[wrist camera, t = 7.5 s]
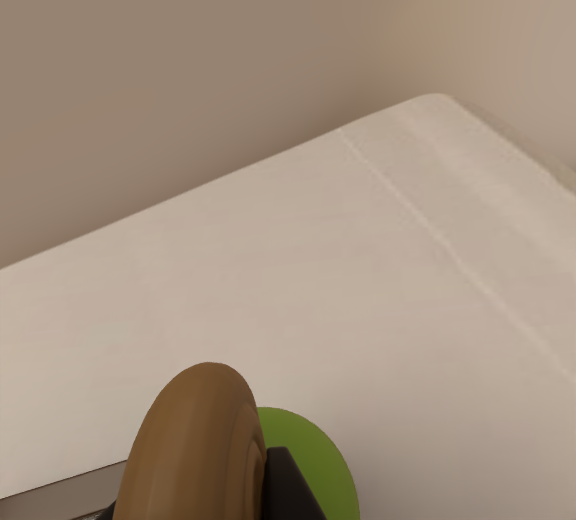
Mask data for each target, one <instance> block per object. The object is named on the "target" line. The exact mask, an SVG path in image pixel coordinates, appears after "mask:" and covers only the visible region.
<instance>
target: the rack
mask: <svg viewBox="0 0 576 520" xmlns="http://www.w3.org/2000/svg"><path fill="white" fill-rule="evenodd" d="M126 463H127V460H124V461H121V462H118V463H115V464H112V465H108V466H105V467H102V468H99V469H95V470H92V471H89V472H86V473H83V474H79V475H76V476H73V477H70V478H67V479H63V480H60V481H57V482H54V483H51V484H47V485H44V486H41V487H38V488H35V489H31V490H28V491H25V492H22V493H19V494H15V495H12V496H9V497H6V498H2V499H0V520H82V519H85V518H88V517H91V516H94V515H97V514H100V513H102V512H103V511H104V510H106V509H107V508H108V507H109V506H110V505H111V504H112V503H113V502H114V501H115V500H116V499H117V496H118V492H119V488H120V484H121V480H122V476H123V473H124V470H125V466H126Z"/></svg>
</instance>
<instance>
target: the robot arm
mask: <svg viewBox="0 0 576 520" xmlns="http://www.w3.org/2000/svg"><path fill="white" fill-rule="evenodd" d="M266 455H267V460H266V463H265V471H264V482H263V496H262V499H263V513H264V520H328V519H327V518H326V516H325V514H324V512H323V510H322V509H321V507H320V505H319V503H318V501H317V500H316V498H315V496H314V494H313V492H312V491H311V489H310V487H309V485H308V483H307V482H306V480H305V478H304V476H303V474H302V473H301V471H300V469H299V467H298V466H297V464H296V462H295V460H294V458H293V457H292V455H291V453H290V451H289V449H288V448H287V447H286V446H276V447H269V448H267V450H266ZM116 500H117V499H116ZM116 500H115V501H114V502H113V503H112V504H111V505H110V506H109V507H108V508H107V509H106V510H104V511H103V512H102V513H101V514H100V515H99V516H98V517H97V518H96V519H95V520H112V519H113V513H114V509H115V504H116Z"/></svg>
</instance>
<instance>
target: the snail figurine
mask: <svg viewBox="0 0 576 520" xmlns="http://www.w3.org/2000/svg"><path fill="white" fill-rule="evenodd" d="M276 446H286V447H287V448H288V449H289V451H290V453H291V455H292V457H293V458H294V460H295V462H296V464H297V466H298V467H299V469H300V471H301V473H302V474H303V476H304V478H305V480H306V482H307V483H308V485H309V487H310V489H311V491H312V492H313V494H314V496H315V498H316V500H317V501H318V503H319V505H320V507H321V509H322V510H323V512H324V514H325V516H326V518H327V519H328V520H360V509H359V502H358V496H357V492H356V488H355V484H354V481H353V478H352V475H351V473H350V470H349V468H348V466H347V464H346V462H345V460H344V458H343V456H342V455H341V453H340V451H339V450H338V448H337V447H336V446H335V444H334V443H333V442H332V441H331V439H330V438H329V437H328V436H327V435H326V434H325V433H324V432H323V431H322V430H321V429H320V428H318V427H317V426H316V425H315V424H313V423H312V422H310V421H309V420H307V419H305V418H304V417H302V416H300V415H298V414H295V413H293V412H290V411H287V410H283V409H278V408H271V407H256V403H255V400H254V397H253V394H252V391H251V389H250V388H249V386H248V384H247V382H246V381H245V379H244V378H243V377H242V376H241V375H240V374H239V373H238V372H237V371H236V370H234V369H233V368H231V367H230V366H228V365H226V364H222V363H213V362H204V363H200V364H197V365H194V366H192V367H189V368H188V369H186V370H184V371H182V372H181V373H179V374H178V375H177V376H176V377H174V378H173V379H172V380H171V381H170V382H169V383H168V384H167V385H166V386H165V387H164V389H163V390H162V391H161V392H160V393H159V395H158V396H157V398H156V399H155V401H154V403H153V404H152V406H151V408H150V409H149V411H148V413H147V415H146V417H145V419H144V421H143V423H142V425H141V427H140V430H139V432H138V434H137V436H136V439H135V441H134V443H133V446H132V449H131V452H130V455H129V458H128V460H127V463H126V466H125V470H124V473H123V476H122V480H121V484H120V488H119V492H118V496H117V500H116V504H115V509H114V513H113V519H112V520H264V513H263V499H262V496H263V482H264V471H265V463H266V460H267V455H266V450H267V448H269V447H276Z"/></svg>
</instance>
